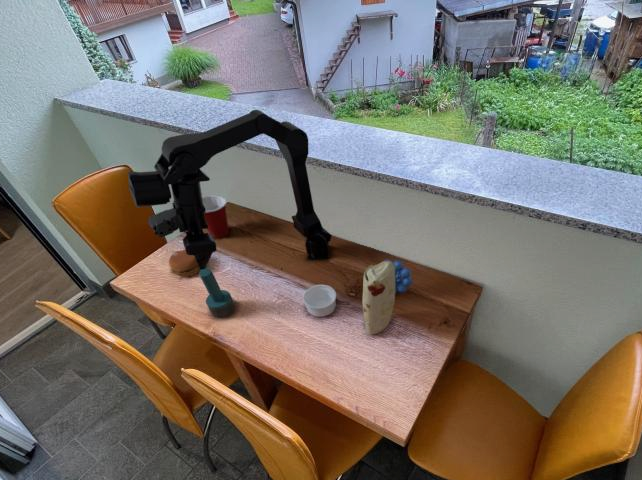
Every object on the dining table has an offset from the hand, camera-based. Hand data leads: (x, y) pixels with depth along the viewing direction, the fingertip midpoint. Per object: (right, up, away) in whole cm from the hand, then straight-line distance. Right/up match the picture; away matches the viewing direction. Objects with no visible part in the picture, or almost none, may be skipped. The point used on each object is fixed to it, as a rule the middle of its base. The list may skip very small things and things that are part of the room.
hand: (198, 259), depth 87 cm
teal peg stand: (+3, -13, +9) cm, 16 cm away
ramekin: (+30, -12, +9) cm, 33 cm away
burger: (-13, 0, +21) cm, 25 cm away
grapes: (+50, -8, +13) cm, 52 cm away
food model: (+45, -17, +4) cm, 49 cm away
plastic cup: (-9, +13, +33) cm, 37 cm away
